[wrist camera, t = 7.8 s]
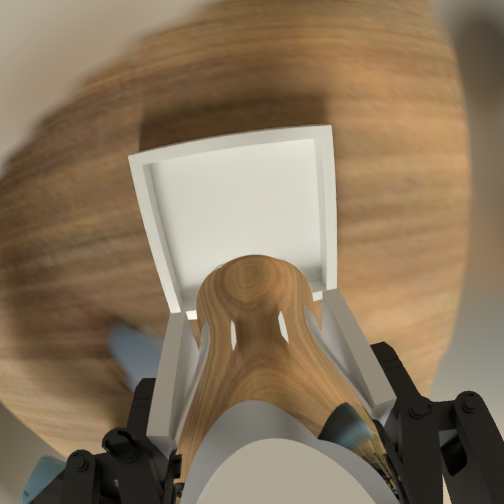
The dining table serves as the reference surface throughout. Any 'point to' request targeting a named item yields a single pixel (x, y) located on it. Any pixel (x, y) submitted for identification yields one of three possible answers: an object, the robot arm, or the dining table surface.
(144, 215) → the tray
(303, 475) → the beer glass
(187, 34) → the dining table surface
